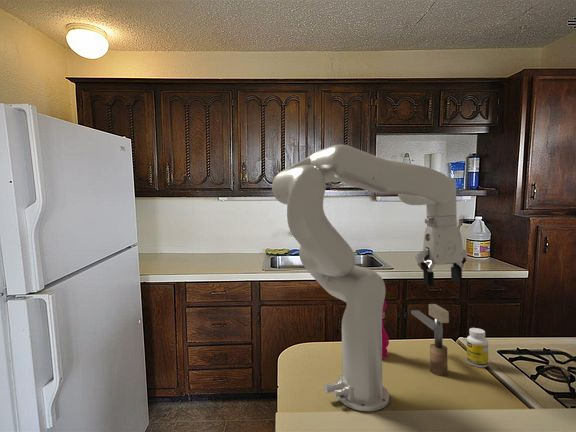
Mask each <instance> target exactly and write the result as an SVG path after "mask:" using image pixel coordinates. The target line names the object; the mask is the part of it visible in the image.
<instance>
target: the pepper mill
mask: <svg viewBox="0 0 576 432" xmlns="http://www.w3.org/2000/svg"><path fill="white" fill-rule="evenodd" d="M385 310H387V302H386V300H385V299H384V304H383V309H382V360H383V359H385V358H387V357H388V346H389V344H390V340H389V339H390V338H389V336H388V334H387V331H386V328H385V327H384V326H385V325H384V319H385V317H386V313H385Z"/></svg>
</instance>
